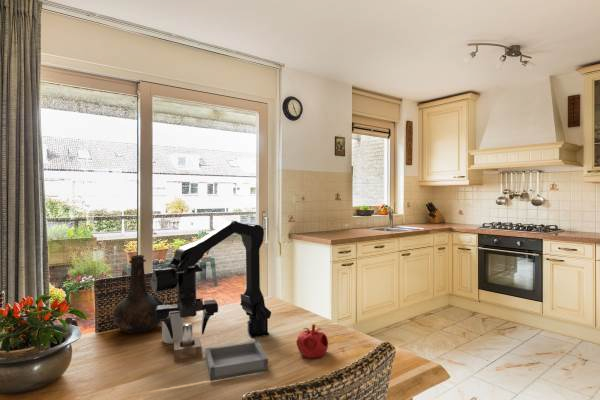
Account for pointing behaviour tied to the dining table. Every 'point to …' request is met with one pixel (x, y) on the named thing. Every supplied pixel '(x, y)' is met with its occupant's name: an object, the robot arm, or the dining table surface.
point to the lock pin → (187, 334)
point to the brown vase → (137, 302)
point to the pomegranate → (312, 343)
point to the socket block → (187, 349)
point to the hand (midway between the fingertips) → (187, 336)
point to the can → (173, 328)
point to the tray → (235, 360)
